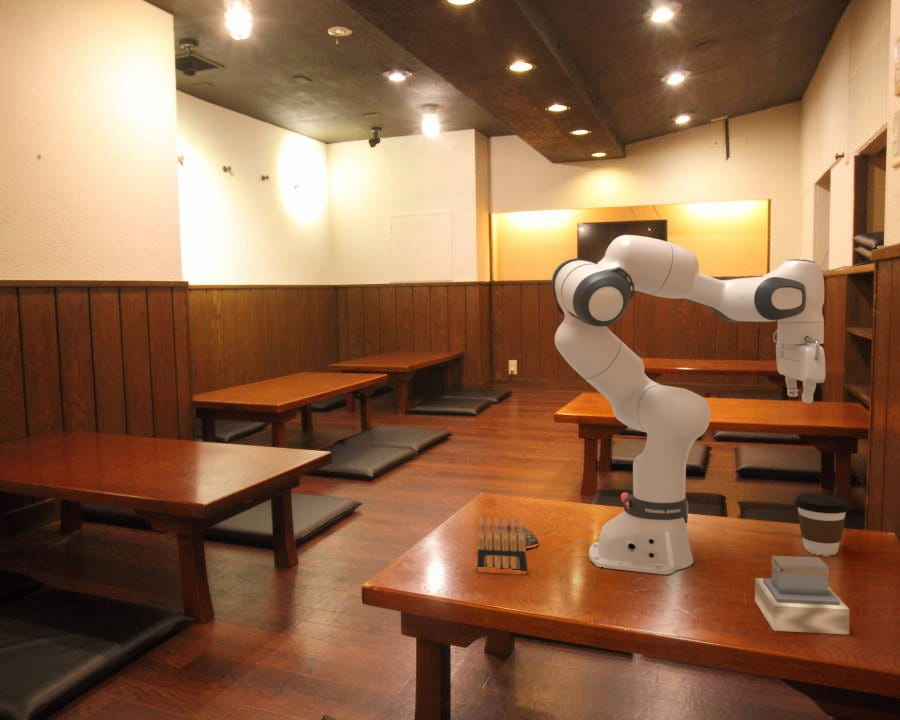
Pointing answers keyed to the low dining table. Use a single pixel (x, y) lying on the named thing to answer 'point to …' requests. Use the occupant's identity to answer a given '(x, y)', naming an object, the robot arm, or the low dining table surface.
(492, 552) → the ammunition clip
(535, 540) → the dark speckled curved piece
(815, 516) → the coffee cup
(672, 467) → the robot arm
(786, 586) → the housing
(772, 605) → the stand
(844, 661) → the low dining table surface
